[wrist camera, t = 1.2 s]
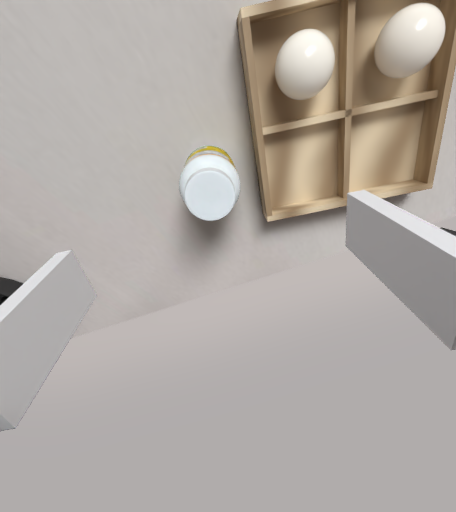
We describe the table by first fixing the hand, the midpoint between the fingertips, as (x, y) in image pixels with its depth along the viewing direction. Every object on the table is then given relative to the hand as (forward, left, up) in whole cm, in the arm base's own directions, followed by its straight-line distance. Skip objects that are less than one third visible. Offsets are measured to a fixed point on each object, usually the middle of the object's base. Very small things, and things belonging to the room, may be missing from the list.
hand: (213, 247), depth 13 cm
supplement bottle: (0, 0, -18) cm, 19 cm away
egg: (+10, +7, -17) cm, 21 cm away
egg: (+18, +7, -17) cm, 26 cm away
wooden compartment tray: (+14, +3, -18) cm, 23 cm away
